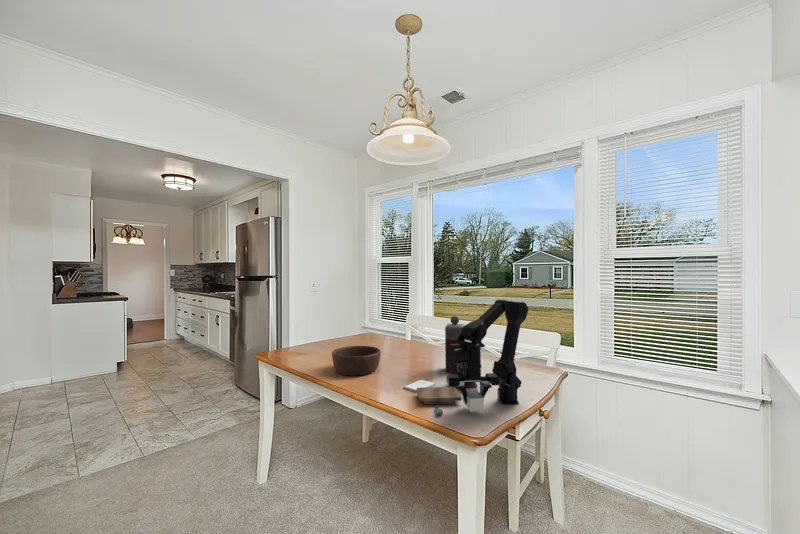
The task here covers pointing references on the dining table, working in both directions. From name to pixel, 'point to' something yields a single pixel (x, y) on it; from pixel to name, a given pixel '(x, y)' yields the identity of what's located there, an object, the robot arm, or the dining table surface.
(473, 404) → the block
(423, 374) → the dining table surface
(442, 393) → the stand
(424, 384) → the external hard drive
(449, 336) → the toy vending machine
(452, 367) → the black orb on base
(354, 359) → the wooden bowl
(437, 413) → the bolt
